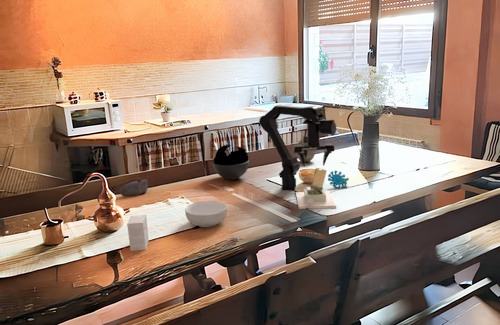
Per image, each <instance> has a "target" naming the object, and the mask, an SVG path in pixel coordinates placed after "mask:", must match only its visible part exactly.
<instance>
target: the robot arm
mask: <svg viewBox="0 0 500 325" xmlns="http://www.w3.org/2000/svg"><path fill="white" fill-rule="evenodd" d="M281 115H287V116H296V117H297V116H298V117H301V118H303V119H304V121H303V122H302V125H306V126H307V127H306V128H307V130H306V133H307V135H306V136H303V137H302V139H303V143H307V146H302V144H301V145H297V144H294V145H293V154H296V153H297V154H299V155H300V157H301V159H302V161H301V163H302V165H303V167H306V166H305V164H306V162H304V156H303V150H315V151H321V150H323V159H322V165H323V166H325V164H326V161H327V159H328V157H329V155H330V154H332V152H335V145H334V144H333V143H331V142H330V143H324V145H321V144H320V143H321V141H320V140H321V138H320V136H321V135H320V133H321V134H322V135H330V136H331V135H333V136H334V135H335V134H336V132H337V125H336V122H335V119H327V118H326V117H325V116H324V114H323V113H322V109H321V108H320V107H319V106H318V105H311V106H304V107H303V106H301V107H300V106H289V105H288V106H287V105H281V104H277V105H274V106H273V107H272V108H271V110H269V111H268V112H267V113H265V114H264V115H261V116H260V118H259V121H258V122H259V125H260V127H261V128H262V129H263V130H264V131H265V132H266V133H267V134H268V136H269V137H270V139H271V142H272V144H273V146H274V148H275V149H276V152H277V153H278V155H279V157H280V160H281V168H282V170H281V171H279V174H278V175H279V178H281V190H282V191H283V190H284V191H290V190H291V191H292V190H296V188H297V178H296V177H295V175H297V173H298V172H299V171H300V164H301V163H300V162H299V161H298V160H299V159H298V158H297V155H295V156H292V155H291V154H290V151H289V149H288V147H287V146H286V144H285V142H284V140H283V138H282V136H281V133H280V131H279V130H278V121H277V120H278V118H279V117H280V116H281Z"/></svg>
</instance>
